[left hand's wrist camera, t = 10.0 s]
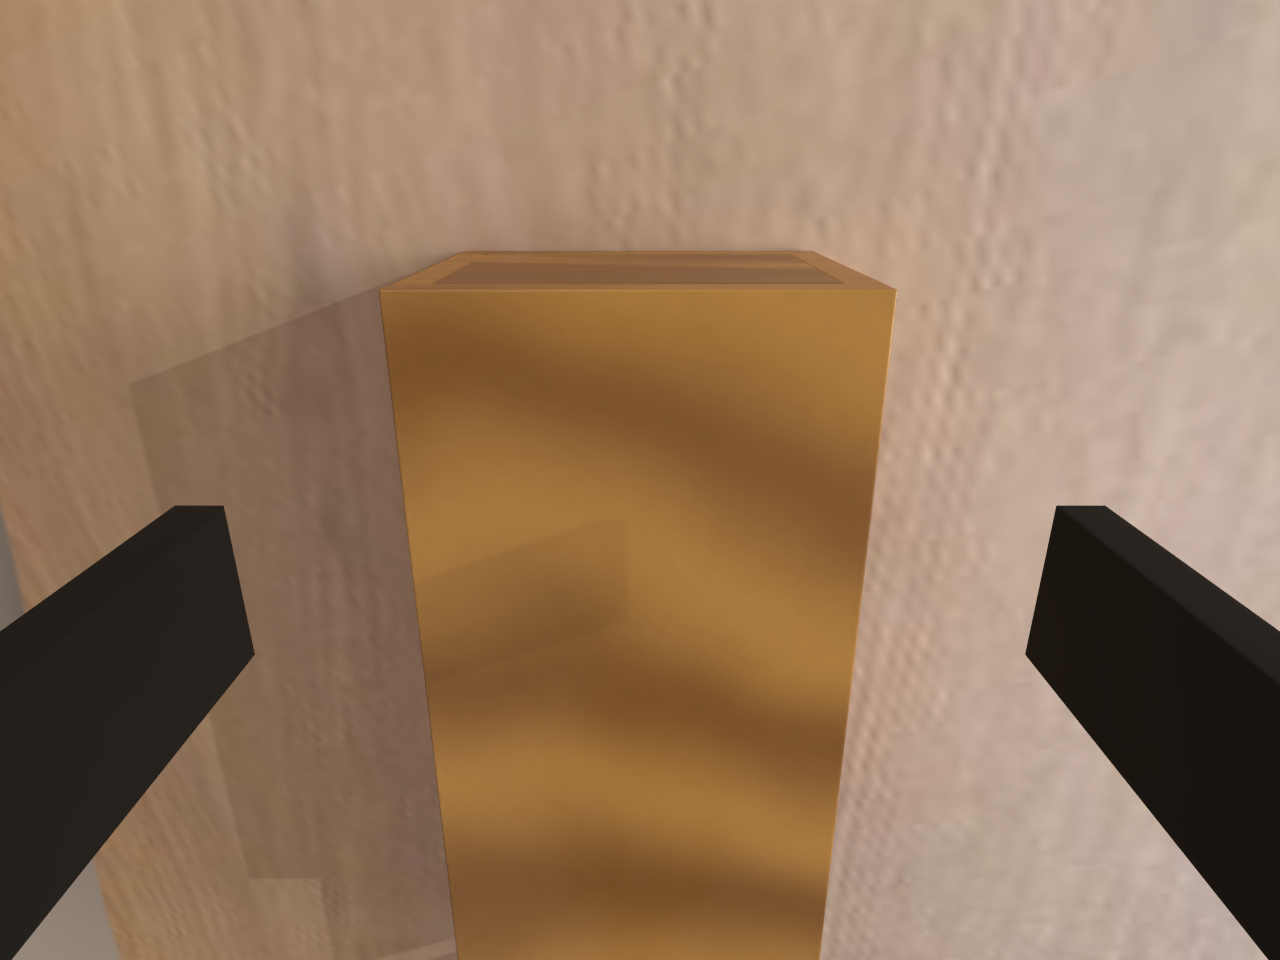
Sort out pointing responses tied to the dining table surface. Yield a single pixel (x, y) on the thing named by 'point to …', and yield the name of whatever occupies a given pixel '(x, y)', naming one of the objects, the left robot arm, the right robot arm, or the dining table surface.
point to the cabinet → (638, 586)
